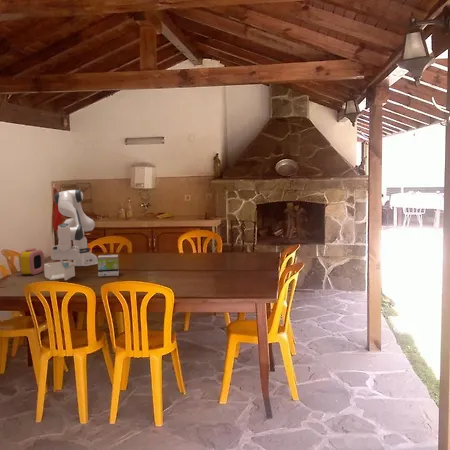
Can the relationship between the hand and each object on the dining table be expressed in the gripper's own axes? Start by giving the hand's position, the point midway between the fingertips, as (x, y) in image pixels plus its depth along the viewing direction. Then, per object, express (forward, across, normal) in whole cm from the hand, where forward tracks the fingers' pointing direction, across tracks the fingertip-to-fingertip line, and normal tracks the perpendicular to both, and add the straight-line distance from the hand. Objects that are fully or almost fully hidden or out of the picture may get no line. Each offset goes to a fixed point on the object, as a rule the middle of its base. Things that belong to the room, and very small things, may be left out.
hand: (66, 265), depth 353 cm
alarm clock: (+11, +38, -26) cm, 47 cm away
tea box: (+11, -25, -18) cm, 33 cm away
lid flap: (+10, 0, -5) cm, 11 cm away
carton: (+11, +11, -14) cm, 21 cm away
